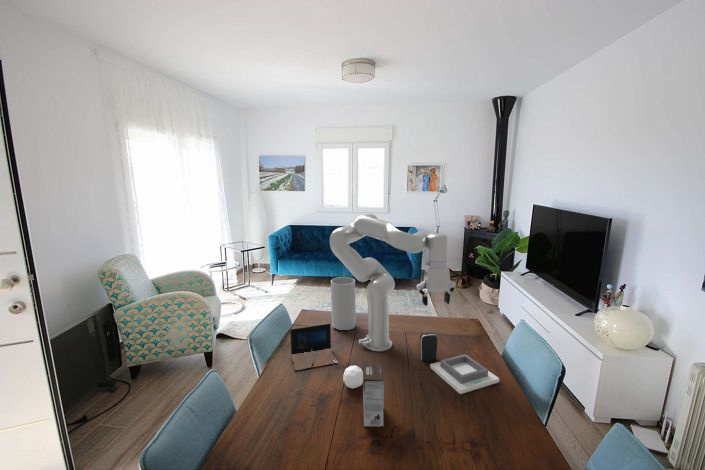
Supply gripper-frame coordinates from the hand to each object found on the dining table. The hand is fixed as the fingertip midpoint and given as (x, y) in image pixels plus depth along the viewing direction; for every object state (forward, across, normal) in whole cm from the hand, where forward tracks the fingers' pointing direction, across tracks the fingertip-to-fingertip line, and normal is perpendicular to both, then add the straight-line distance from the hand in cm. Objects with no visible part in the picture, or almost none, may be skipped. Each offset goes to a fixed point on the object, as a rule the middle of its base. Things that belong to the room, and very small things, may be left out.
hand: (436, 303), depth 134 cm
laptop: (+25, -51, +9) cm, 57 cm away
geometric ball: (+24, -38, -12) cm, 47 cm away
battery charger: (+24, -3, -1) cm, 25 cm away
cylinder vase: (+24, -33, +39) cm, 56 cm away
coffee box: (+24, -35, -29) cm, 51 cm away
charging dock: (+24, +5, -14) cm, 28 cm away
